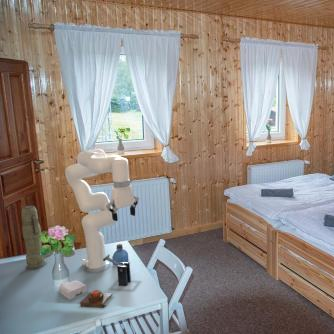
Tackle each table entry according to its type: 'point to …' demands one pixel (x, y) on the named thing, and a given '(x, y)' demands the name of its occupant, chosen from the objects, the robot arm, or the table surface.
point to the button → (95, 293)
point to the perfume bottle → (120, 255)
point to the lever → (113, 261)
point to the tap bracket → (124, 274)
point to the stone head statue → (32, 237)
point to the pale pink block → (72, 288)
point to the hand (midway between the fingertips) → (124, 217)
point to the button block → (95, 300)
